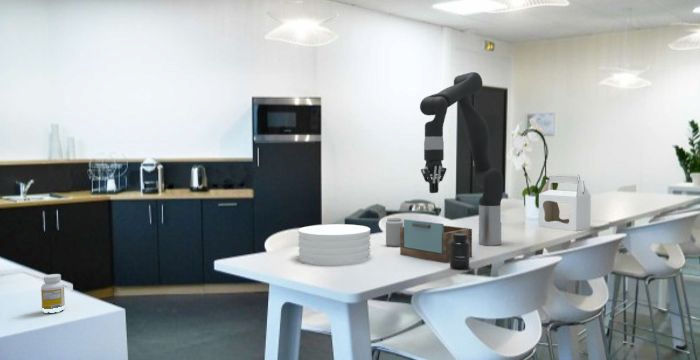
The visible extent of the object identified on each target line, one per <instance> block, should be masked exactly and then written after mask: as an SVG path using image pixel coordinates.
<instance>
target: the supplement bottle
mask: <svg viewBox="0 0 700 360" xmlns="http://www.w3.org/2000/svg"><path fill="white" fill-rule="evenodd" d="M453 239H454V241H453V242H451V244H450V262H449V267H450V268H451V269H454V270H468V269H469V268H470V258H471V257H470V244H469V243H468V242H467V241H466V240H467V234H460V233H457V234H453Z"/></svg>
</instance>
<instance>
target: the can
mask: <svg viewBox="0 0 700 360" xmlns="http://www.w3.org/2000/svg"><path fill="white" fill-rule="evenodd" d="M400 227H404V221H403V220H402V218H401V217H388V218H387V219H386V221H385V244H386V246H387V247H392V248H398V247H400Z"/></svg>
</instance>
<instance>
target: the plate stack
mask: <svg viewBox="0 0 700 360" xmlns="http://www.w3.org/2000/svg"><path fill="white" fill-rule="evenodd" d="M370 234H371V228H370V227H368V226H365V225H357V224H346V223H345V224H344V223H337V224H336V223H335V224H333V223H331V224H314V225H309V226H304V227H300V228H298V241H299V242H298V247H299V249H298V254H299V255H298V260H299V261H300V262H301V261H302V263H304V262H306V263H305V264H308V263H310V264H309V265H314V264H317V266H348V265H356V264H362V263H365V262H368V261H370V260H371V235H370Z"/></svg>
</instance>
